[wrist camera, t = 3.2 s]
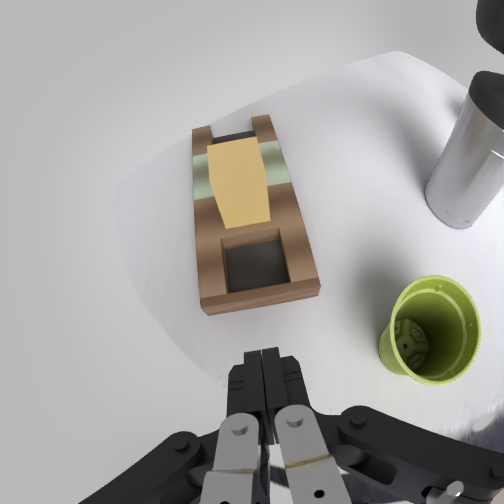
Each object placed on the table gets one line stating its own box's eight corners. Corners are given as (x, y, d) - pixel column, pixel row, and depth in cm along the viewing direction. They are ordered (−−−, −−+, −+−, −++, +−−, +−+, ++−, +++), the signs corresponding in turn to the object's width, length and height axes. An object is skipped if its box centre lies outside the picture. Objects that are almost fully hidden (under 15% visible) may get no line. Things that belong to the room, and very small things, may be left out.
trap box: (317, 295, 31) (320, 286, 28) (208, 315, 31) (200, 307, 28) (270, 129, 44) (268, 114, 41) (196, 143, 44) (192, 129, 41)
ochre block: (270, 220, 32) (265, 171, 25) (225, 228, 32) (209, 181, 25) (262, 186, 34) (256, 136, 27) (221, 194, 34) (207, 145, 27)
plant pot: (345, 343, 28) (367, 325, 20) (403, 289, 30) (435, 254, 22) (397, 406, 24) (436, 409, 16) (451, 346, 26) (495, 328, 18)
